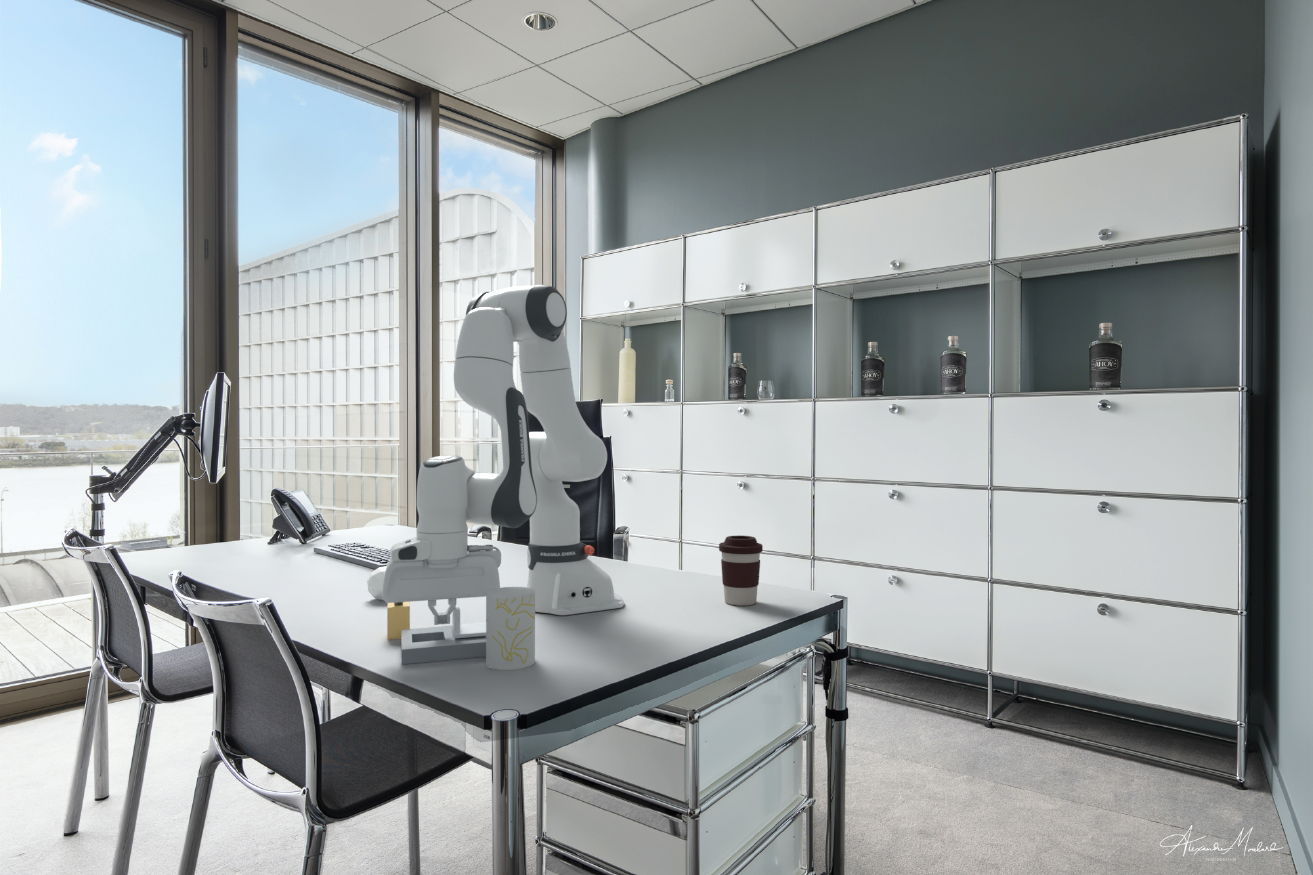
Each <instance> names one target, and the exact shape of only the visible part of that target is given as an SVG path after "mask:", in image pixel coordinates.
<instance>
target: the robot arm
mask: <svg viewBox="0 0 1313 875" xmlns="http://www.w3.org/2000/svg"><path fill="white" fill-rule="evenodd" d="M567 311H568V310H567V305H566V301H565V298H564V296H563V295H562V294H561V293H560V291H559V290H558V289H557V288H556V287H554V286H551V285H546V284H535V285H516V286H510V287H507V288H503V289H499V290H494V291H484V292H482V293H480V294H477V295H475V296H474V297H472V298H471V300H470V301H469V303H468V305H467V307H466V312H465V316H464V319H463V322H462V325H461V329H460V331H459V335H458V339H457V344H456V350H455V357H454V369H453V384H454V389H455V391H456V393H457V394H458V396H459V397H460V398H461V400H462V401H463V402H465V403H466V404H467V405H468V406H470V407H472V408H473V409H477V410H479V411H480V412H483V413H485V414H487V415H489V416H490V417H491V418H493V419H494V420H495V421H496V422H497V424H498V426H499V429H500V436H501V454H502V470H501V472H500V473H496V472H495V473H493V472H492V473H491V472H478V471H477V472H476V471H475V470H473V469H471V468H469V467H468V466H467V465H466V464H465V463H466V462H465V459H464V458H463V457H462V456H459V455H455V454H453V455H452V454H448V455H447V454H446V455H440V456H439V455H438V456H437V455H436V456H432V457H430V458H427V459H426V460H424V461H423V462H422V463H421V464H420V467H419V471H418V477H417V485H416V510H417V513H418V523H417V526H416V537H413V538H410V539H406V540H403V541H400V542H397V543H395V544H393V545H392V546H391V547H390V550H389V556H390V560H389V561H388V563H387V565H386V566H387V567H386V570H385V575H384V581H383V591H382V598H383V600H382V601H384V602H385V603H387V604H388V603H396V602H423V601H427V607H428V609H429V610H430V612H431V613H432V615H433V624H434V626H437V625H450V624H451V615H452V611H453V610H454V608H455V606H456V604H457V600H458V599H468V598H469V599H470V598H483V597H485V598H486V592H487V591H489V590H492V589H496V588H501V586H500V585H501V582H500V573H499V567H501V564H502V552H501V550H500V549H499V548H498V547H496V546H494V545H493V544H485V545H484V544H482V545H481V544H480V545H478V544H475V545H474V544H471V545H469V542H468V540H469V539H468V538H469V537H468V536H469V534H468V528H469V527H468V524H469V523H470V524H471V523H472V524H478V525H494V526H499V527H504V528H510V529H518V528H519V527H521V526H523V525H524V524H525V523H527V521H528V520H529V542H528V545H527V568H528V577H527V578H528V579H527V586H526V588H531V589H534V590H535V613H543V614H551V615H557V616H569V615H576V614H583V613H591V612H599V611H607V610H613V609H620V608H623V607H624V605H625V603H624V602H625V601H624V599H623V597H622V596H621V595H620V594H618V593H615V590H614V586H613V580H612V578H611V576H610V575H609V574H608V573H607V572H606V571H605V570H604V569H603V568H601V567H599V565H597V564H596V563H594V562H593V561H592V560H591V559H589V558H588V557H589V556H592V555H593V554H594V553H595V548H594V547H593V546H591V545H590V544H589V545H588V544H585V543H583V542H582V541H580V540H581V536H580V533H581V532H580V531H581V526H580V525H581V524H580V522H581V521H580V518H581V516H580V515H581V514H580V513H581V512H580V508H579V505H578V504H577V503H576V502H575V501H574V500H573V499H571V498H570V497H569V495H568V494H567V492H566V491H565V488H564V484H563V482H573V483H574V482H575V483H577V482H579V483H580V482H584V481H589V480H593V479H597V478H599V477H600V476H601V474H603V472H604V470H605V468H606V465H607V463H608V462H607V461H608V451H607V448H606V445H605V443H604V441H603V440H602V439H601V438H600V437H599V436H598V435H596V434H595V433H594V432H593V431H592V430H591V428H590V427H589V426H588V425H587V423H586V421H585V420H584V419H583V417H582V415H581V412H580V410H579V408H578V405H577V402H576V398H575V397H576V396H575V391H574V384H573V376H572V368H571V360H570V354H569V349H568V344H567V341H566V336H565V334H564V331H563V330H564V328H565V326H566V325H565V324H566V321H567V315H568V312H567ZM515 342H517V344H518V359H519V360H518V362H519V363H518V364H519V373H520V374H519V375H520V381H521V382H520V383H521V390H522V392H521V391H520V390H518V389H517V387H516V383H515V380H514V373H513V371H514V370H513V369H514V351H515V349H514V343H515ZM528 412H529V413H530V414H531V415H533V416H534V417H535V418H536V419H537V420H538V422H539V423H540V425H541V427H542V428H543V431H530V429H529V428H530V427H529V417H528V416H529V414H528ZM467 523H468V524H467ZM437 600H438V601H439V600H447V603H448V604H447V605H449V606H448V607H447V609H446V611H445V612H438V610H437V609H436V606H437Z"/></svg>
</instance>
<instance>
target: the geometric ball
mask: <svg viewBox="0 0 1313 875" xmlns="http://www.w3.org/2000/svg"><path fill="white" fill-rule="evenodd" d="M386 567H387V565H386V566H385V565H384V566H380V567H378V568H376V569H375V570H373V571H371V573H369V576H368V579H367V581H366V582H367V590H368V591H367V592H368V593H369V594H370V595H371V597H373V598H374V599H377V600H380V601H384V600H383V598H382V591H383V581H384V575H385V570H386Z"/></svg>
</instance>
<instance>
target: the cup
mask: <svg viewBox="0 0 1313 875" xmlns="http://www.w3.org/2000/svg"><path fill="white" fill-rule="evenodd" d="M485 599H486V600H485V602H486V603H485V604H486V605H485V622H486V657H485V665H486V666H487V667H488V668H489V669H493V670H498V671H514V670H516V671H517V670H522V669H525V668H528V667H530V666H533V665H534V664H535V663H536V612H535V590H534V589H531V588H527V586H503V587H502V586H501V587H500V588H496V589H492V590H489V591H487V592H486V597H485Z"/></svg>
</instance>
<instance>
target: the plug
mask: <svg viewBox="0 0 1313 875" xmlns="http://www.w3.org/2000/svg"><path fill="white" fill-rule="evenodd" d="M386 609H387V611H386V612H387V617H386V619H387V620H386V622H387V623H386V625H387V627H386V628H387V629H386V631H387V632H386V633H387V634H386V636H387V641H388V640H396V639H397V640H399V639H401V630H404V629H411V616H410V615H411V611H410V610H411V604H410V602H396V603H387V608H386Z"/></svg>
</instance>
